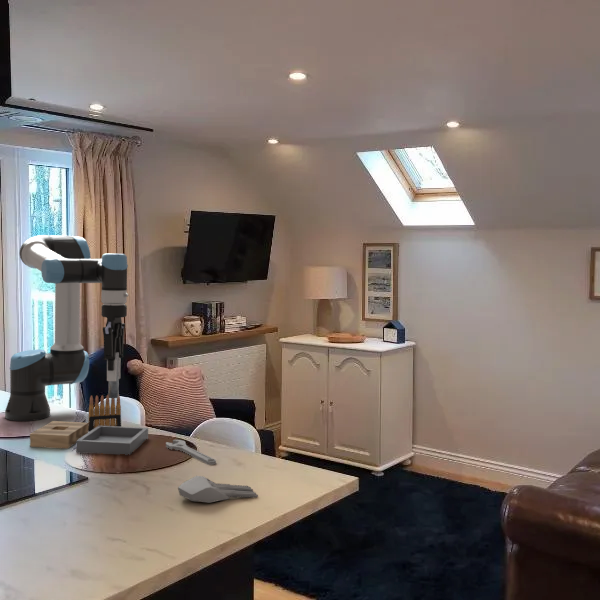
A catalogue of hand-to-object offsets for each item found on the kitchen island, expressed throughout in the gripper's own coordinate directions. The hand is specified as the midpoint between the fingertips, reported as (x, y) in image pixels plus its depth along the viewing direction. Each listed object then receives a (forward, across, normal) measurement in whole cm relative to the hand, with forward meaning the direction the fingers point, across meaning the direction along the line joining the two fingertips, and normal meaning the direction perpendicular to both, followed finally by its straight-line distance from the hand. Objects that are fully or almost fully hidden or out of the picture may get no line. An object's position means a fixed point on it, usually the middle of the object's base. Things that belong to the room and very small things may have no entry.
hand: (113, 379), depth 218 cm
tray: (+21, 0, 0) cm, 21 cm away
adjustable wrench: (+21, -5, -25) cm, 33 cm away
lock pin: (+6, 0, 0) cm, 6 cm away
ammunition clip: (+21, +17, +9) cm, 28 cm away
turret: (+21, -40, -41) cm, 61 cm away
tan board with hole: (+21, +2, +18) cm, 27 cm away
